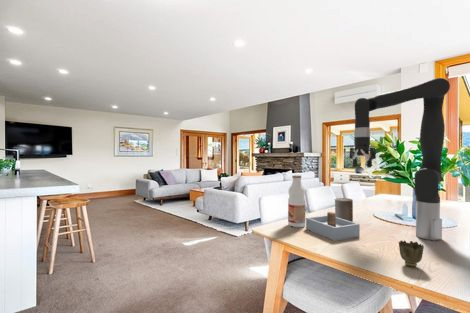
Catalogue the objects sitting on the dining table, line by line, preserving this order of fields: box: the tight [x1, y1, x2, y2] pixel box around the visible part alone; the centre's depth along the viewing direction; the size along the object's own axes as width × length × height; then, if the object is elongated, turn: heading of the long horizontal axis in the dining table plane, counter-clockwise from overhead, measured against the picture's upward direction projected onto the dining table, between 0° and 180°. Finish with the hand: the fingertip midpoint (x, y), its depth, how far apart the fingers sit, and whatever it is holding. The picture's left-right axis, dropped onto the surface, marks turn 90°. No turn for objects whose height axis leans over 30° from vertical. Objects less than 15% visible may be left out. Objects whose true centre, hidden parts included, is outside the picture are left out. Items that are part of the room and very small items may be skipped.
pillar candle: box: [334, 197, 354, 222], centre depth 150 cm, size 10×10×15 cm
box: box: [305, 215, 361, 242], centre depth 131 cm, size 20×16×6 cm
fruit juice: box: [287, 174, 306, 228], centre depth 144 cm, size 9×9×28 cm
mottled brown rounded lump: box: [398, 239, 425, 268], centre depth 92 cm, size 8×7×8 cm
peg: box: [327, 211, 336, 227], centre depth 131 cm, size 4×4×10 cm
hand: (362, 167), depth 136 cm, fingers open, 8 cm apart
